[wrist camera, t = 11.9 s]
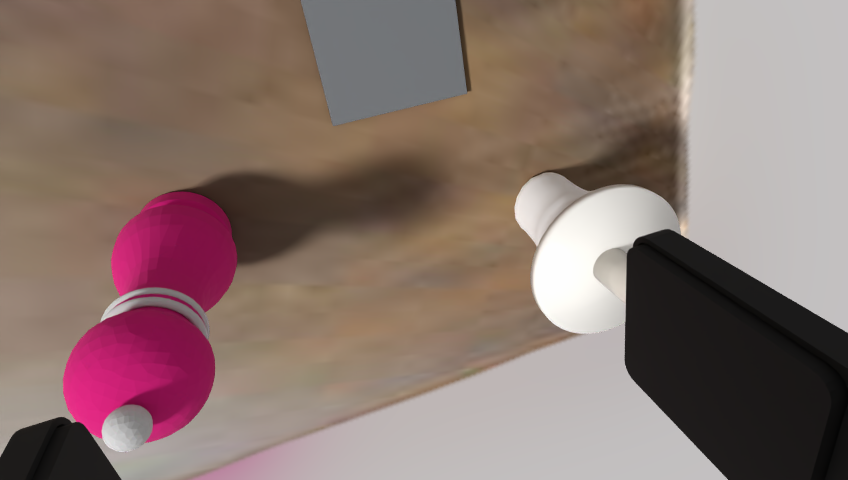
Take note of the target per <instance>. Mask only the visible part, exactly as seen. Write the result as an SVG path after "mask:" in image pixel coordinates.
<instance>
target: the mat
mask: <svg viewBox="0 0 848 480" xmlns="http://www.w3.org/2000/svg"><path fill="white" fill-rule="evenodd" d="M301 4H302V7H303V11H304V15H305V19H306V23H307V27H308V31H309V35H310V39H311V43H312V46H313V50H314V54H315V58H316V62H317V66H318V70H319V74H320V78H321V82H322V85H323V89H324V93H325V97H326V101H327V105H328V109H329V113H330V117H331V121H332V124H333V126H335V125H339V124H343V123H347V122H352V121H356V120H360V119H364V118H368V117H372V116H376V115H380V114H385V113H389V112H393V111H397V110H401V109H405V108H409V107H413V106H418V105H422V104H426V103H430V102H434V101H438V100H442V99H446V98H450V97H455V96H459V95H463V94H467V88H466V80H465V73H464V65H463V57H462V49H461V41H460V34H459V26H458V18H457V10H456V2H455V0H301Z"/></svg>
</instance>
